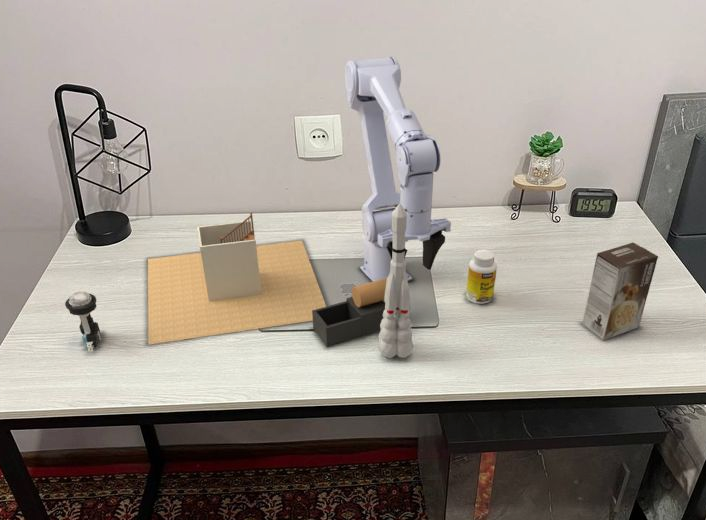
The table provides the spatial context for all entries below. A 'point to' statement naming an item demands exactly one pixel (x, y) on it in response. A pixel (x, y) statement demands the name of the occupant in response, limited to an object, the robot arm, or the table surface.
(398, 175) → the robot arm
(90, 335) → the push button
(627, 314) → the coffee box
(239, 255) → the staircase
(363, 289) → the paper roll
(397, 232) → the rocket model
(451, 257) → the table surface
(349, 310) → the caddy
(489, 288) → the supplement bottle
